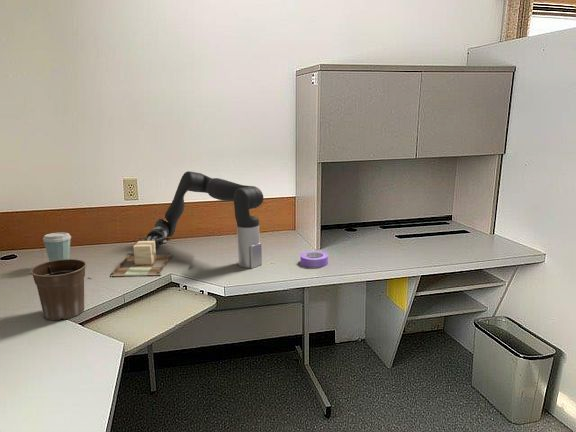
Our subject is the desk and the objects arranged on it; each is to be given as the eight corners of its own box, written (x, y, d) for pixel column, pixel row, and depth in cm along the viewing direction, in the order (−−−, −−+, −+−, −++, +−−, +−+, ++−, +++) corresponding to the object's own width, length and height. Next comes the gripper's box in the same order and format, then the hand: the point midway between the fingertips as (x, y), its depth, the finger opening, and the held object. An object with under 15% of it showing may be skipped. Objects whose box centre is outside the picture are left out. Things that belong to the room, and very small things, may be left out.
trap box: (129, 258, 206) (128, 254, 206) (172, 257, 207) (171, 253, 206) (111, 277, 184) (111, 272, 183) (160, 276, 184) (159, 271, 184)
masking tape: (305, 269, 190) (305, 260, 189) (297, 260, 201) (297, 252, 200) (331, 266, 193) (332, 257, 192) (322, 258, 204) (322, 249, 203)
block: (140, 258, 203) (138, 241, 201) (156, 258, 203) (154, 240, 201) (135, 264, 195) (133, 246, 193) (151, 264, 195) (150, 246, 193)
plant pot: (102, 305, 158) (97, 260, 154) (68, 326, 143) (61, 277, 139) (62, 300, 162) (56, 257, 159) (25, 321, 147) (18, 273, 144)
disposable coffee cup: (48, 265, 199) (43, 231, 196) (75, 262, 203) (71, 229, 200) (45, 273, 190) (40, 238, 186) (74, 269, 193) (69, 235, 190)
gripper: (142, 228, 217) (131, 238, 200) (170, 228, 218) (162, 238, 201) (143, 244, 219) (132, 255, 202) (171, 243, 219) (163, 254, 202)
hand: (147, 246), depth 201 cm, fingers closed
